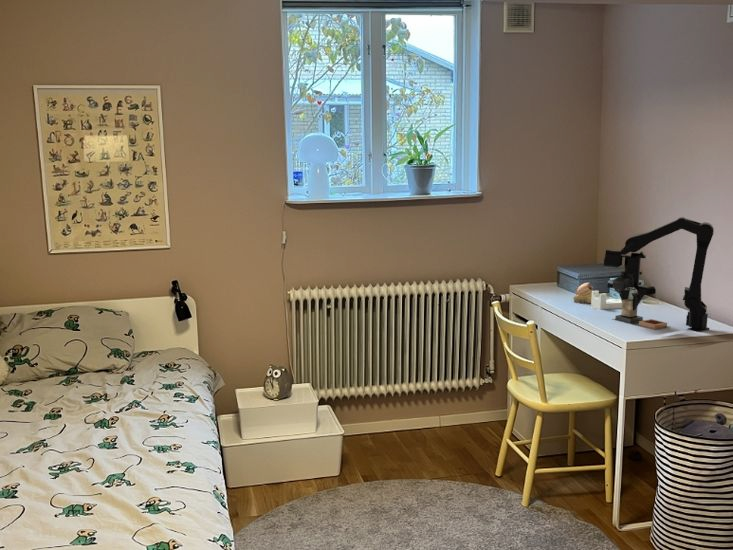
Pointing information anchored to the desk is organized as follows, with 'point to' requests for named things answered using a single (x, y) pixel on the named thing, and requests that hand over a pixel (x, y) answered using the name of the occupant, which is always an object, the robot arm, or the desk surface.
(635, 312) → the wooden block
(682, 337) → the desk surface
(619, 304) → the bracket
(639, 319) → the base plate
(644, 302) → the desk surface
